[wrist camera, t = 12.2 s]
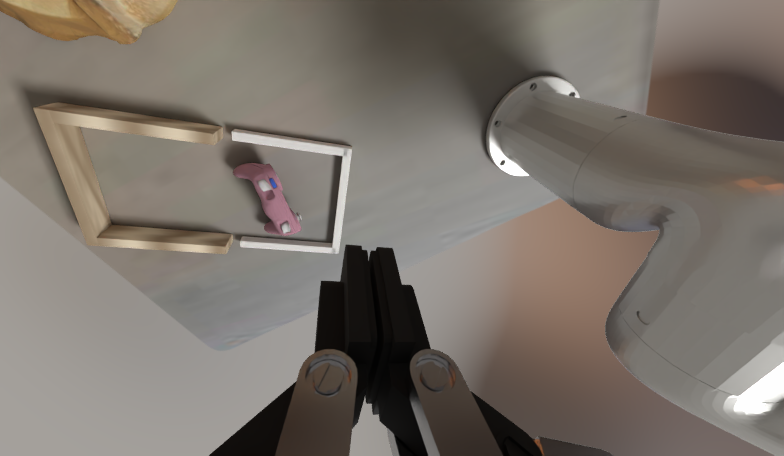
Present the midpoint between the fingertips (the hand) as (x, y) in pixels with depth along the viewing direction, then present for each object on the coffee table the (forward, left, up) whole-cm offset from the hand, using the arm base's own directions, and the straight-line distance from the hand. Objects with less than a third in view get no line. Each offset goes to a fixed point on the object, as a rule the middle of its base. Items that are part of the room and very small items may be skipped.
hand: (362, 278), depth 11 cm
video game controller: (+8, +12, -29) cm, 33 cm away
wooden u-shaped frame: (+22, +12, -29) cm, 38 cm away
